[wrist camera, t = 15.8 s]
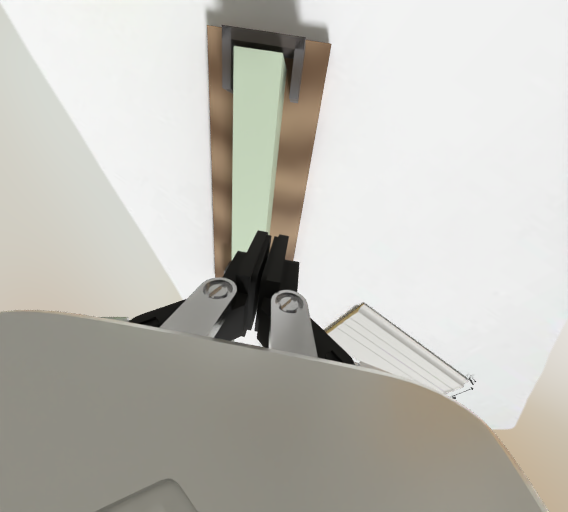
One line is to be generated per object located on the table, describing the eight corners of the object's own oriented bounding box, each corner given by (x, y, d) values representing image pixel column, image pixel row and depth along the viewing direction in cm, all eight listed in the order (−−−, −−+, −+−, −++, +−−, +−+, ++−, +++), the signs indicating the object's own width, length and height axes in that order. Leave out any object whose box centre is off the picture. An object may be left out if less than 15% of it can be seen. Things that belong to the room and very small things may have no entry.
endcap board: (212, 31, 22) (193, 9, 18) (329, 49, 22) (335, 30, 18) (218, 278, 37) (208, 295, 33) (287, 289, 37) (285, 307, 33)
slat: (247, 63, 22) (233, 45, 17) (286, 69, 22) (282, 53, 17) (240, 275, 34) (231, 295, 30) (265, 278, 34) (259, 299, 30)
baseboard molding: (369, 295, 37) (321, 331, 42) (373, 307, 35) (322, 343, 40) (472, 374, 45) (421, 396, 50) (482, 388, 42) (427, 410, 47)
